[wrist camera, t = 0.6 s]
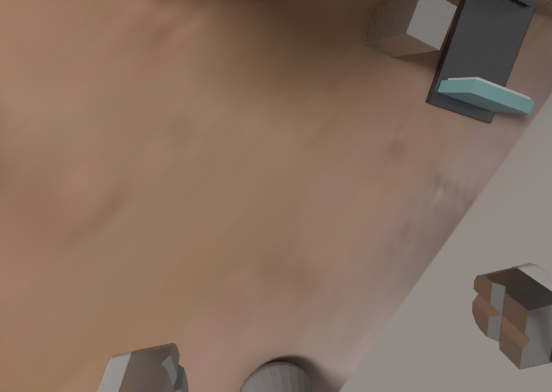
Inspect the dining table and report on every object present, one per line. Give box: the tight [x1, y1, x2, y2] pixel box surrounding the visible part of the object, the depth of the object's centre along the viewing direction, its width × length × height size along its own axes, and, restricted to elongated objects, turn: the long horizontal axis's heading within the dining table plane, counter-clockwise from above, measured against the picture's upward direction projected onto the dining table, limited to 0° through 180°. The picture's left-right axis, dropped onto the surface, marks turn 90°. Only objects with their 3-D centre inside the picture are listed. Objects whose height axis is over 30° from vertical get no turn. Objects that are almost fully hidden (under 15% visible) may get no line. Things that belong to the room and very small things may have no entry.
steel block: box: [364, 0, 457, 57], centre depth 41 cm, size 4×4×9 cm
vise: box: [426, 0, 552, 123], centre depth 46 cm, size 18×11×7 cm, turn 165°
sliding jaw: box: [438, 77, 535, 114], centre depth 47 cm, size 2×10×6 cm, turn 75°
